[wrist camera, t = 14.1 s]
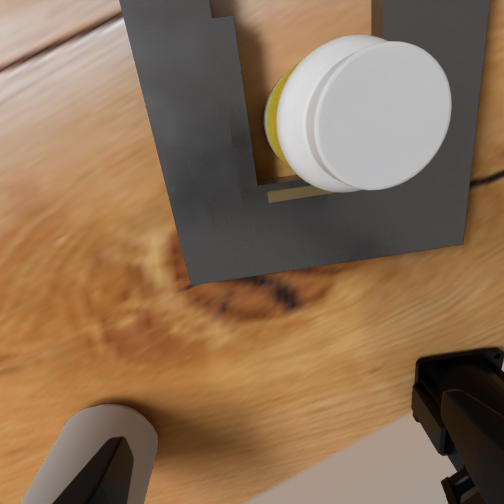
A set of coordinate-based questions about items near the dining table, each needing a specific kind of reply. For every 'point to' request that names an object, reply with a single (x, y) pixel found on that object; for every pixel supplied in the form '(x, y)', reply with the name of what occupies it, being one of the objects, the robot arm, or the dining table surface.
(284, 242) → the keyhole plate
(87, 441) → the can
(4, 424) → the dining table surface
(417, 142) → the supplement bottle
